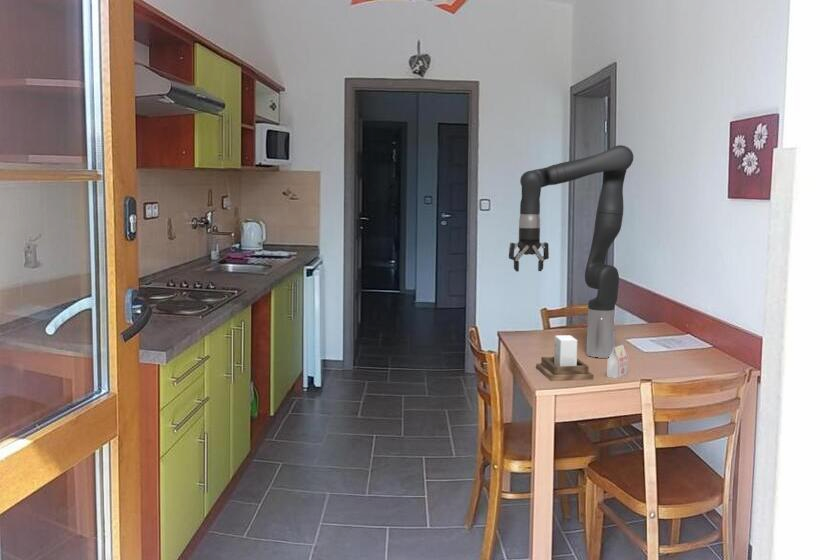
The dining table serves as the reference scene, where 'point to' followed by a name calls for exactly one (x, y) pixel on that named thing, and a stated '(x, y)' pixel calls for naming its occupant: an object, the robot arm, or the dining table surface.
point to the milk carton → (617, 362)
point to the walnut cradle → (563, 370)
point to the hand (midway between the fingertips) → (528, 271)
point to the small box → (565, 351)
